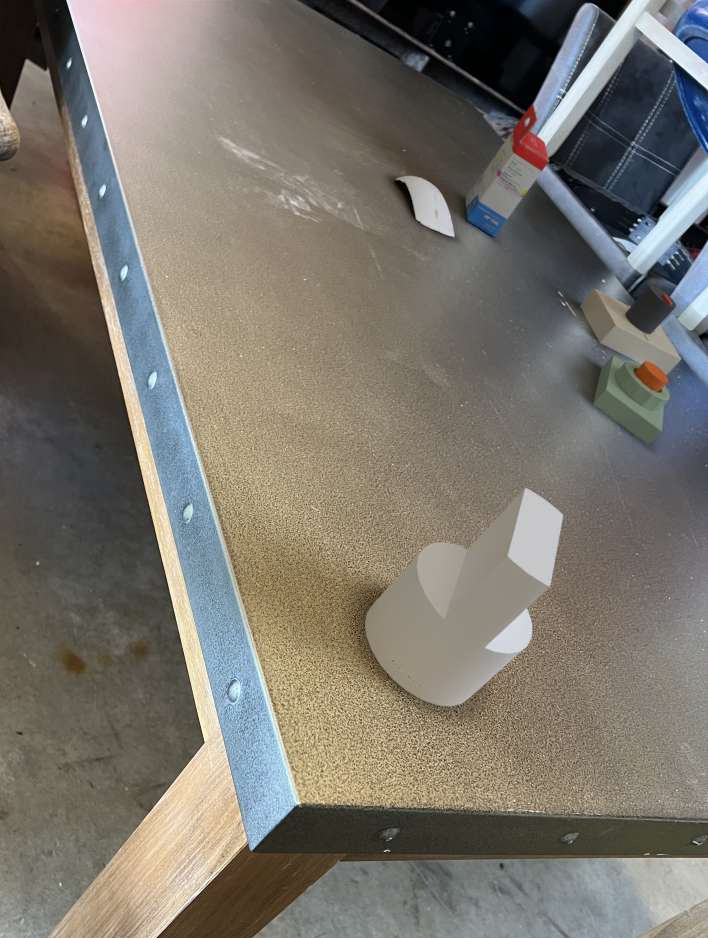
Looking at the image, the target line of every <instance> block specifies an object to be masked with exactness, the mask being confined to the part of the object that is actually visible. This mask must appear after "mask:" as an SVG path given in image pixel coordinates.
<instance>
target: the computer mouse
mask: <svg viewBox="0 0 708 938" xmlns="http://www.w3.org/2000/svg"><path fill="white" fill-rule="evenodd" d="M394 181H401V183H405V185H406V187H407V189H408V191H409V194H410V198H411V200H412V205H413V211H414V215H415V220H416V221H417V222H420V224H421V225H423V226H425V227H427V228H428V229H430V230H434V231H436V232H438V233H441V234H442V235H445V236H449V237H452V238H456V237H455V230H454V226H453V225H454V224H453V221H452V217H451V212H450V209H449V207H448V204H447V202H446V200H445V198H444V196H443V194H442V193H441V191H440V190H439V189H438V187H437V186H435V184H433V183H431V182H430V181H428V180H426V179H425V178H423V177H419V176H414V175H405V176H400V177H397V178H395V180H394Z"/></svg>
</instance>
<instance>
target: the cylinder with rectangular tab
mask: <svg viewBox="0 0 708 938" xmlns="http://www.w3.org/2000/svg"><path fill="white" fill-rule="evenodd" d="M563 519H564V514H563V513H562V512H561V511H560V510H559V509H557V508H556V507H555V506H554V505H553V504H551V503H550V502H549V501H547V499H545V498H543V497H542V496H541V495H539V494H538V493H535V492H534V491H532V490H531V489H529V488H527V487H525V488H524V489H522V491H521V492H520V493H519V494H518V495H517V496H516V497H515V498H514V499H513V500H512V501H511V502H510V503H509V505H507V506H506V507H505V509H504V510H503V511H502V512H501V513H500V514H499V515H498V516H497V517H496V518H495V519H494V521H492V522H491V523H490V525H488V526H487V528H486V529H485V530H484V531H483V532H482V533H481V534H480V535H479V536H478V537H477V539H476V540H474V542H473V543H472V544H471V545H470V546H469V547H468V548H465V547H463V546H462V545H459V544H455V543H450V542H446V541H442V542H432V543H430V544H429V545H426V546H424V547H423V548H422V549H421V550H420V551H419V553H417V554H416V556H415V557H414V558H413V559H412V560H411V561H410V563H408V565H406V567H404V569H403V570H402V572H400V574H399V575H397V577H396V578H395V579H394V580H393V581H392V582H391V584H390V585H389V586H388V587H387V588H386V589H385V590H384V591H383V592H382V593H381V595H380V596H379V597H378V598H377V599H376V600H375V602H374V603H373V604H372V605H371V606H370V608H369V609H368V611H367V612H366V615H365V620H364V629H365V637H366V640H367V642H368V645H369V648H370V650H371V652H372V654H373V656H374V658H375V659H376V660H377V662H378V664H379V665H380V667H381V668H382V669H383V670H384V671H385V673H386V674H387V675H388V676H389V677H390V678H391V680H393V681H394V682H395V683H396V684H397V685H399V686H400V687H401V688H402V689H403V690H405V691H406V692H407V693H409V694H410V695H412V696H414V697H416V698H418V699H419V700H421V701H422V702H423V701H424V702H426V703H429V704H432V705H435V706H440V707H454V706H457V705H458V706H459V705H462V704H463V703H465V702H466V701H468V700H469V699H470V698H471V697H472V696H474V694H475V693H477V692H478V691H479V690H480V689H481V688H482V687H484V686H485V685H486V684H487V683H488V682H489V681H490V680H491V679H492V678H493V677H494V676H496V675H497V674H498V673H499V672H500V671H502V669H503V668H505V667H506V666H507V665H508V664H509V663H510V662H511V661H513V660H514V659H515V658H516V657H517V656H518V655H519V654H520V653H522V652H523V651H524V650H525V649H526V648H527V647H528V646H529V644H530V642H531V640H532V637H533V623H532V619H531V616H530V612H529V610H528V608H529V607H530V606H531V605H532V604H534V602H536V600H538V598H540V597H541V596H542V595H543V594H544V593H545V592H546V591H547V590H548V589H550V587H551V585H552V579H553V573H554V568H555V563H556V558H557V552H558V548H559V541H560V537H561V536H560V535H561V530H562V525H563ZM387 654H388V655H387ZM389 657H390V658H391V659H393V661H394V662H393V661H392V660H391V659H390V658H389ZM396 664H397V666H398V667H399V668H400V669H401V670H402V671H403V672H404V673H403V672H402V671H401V670H400V669H399V668H398V667H397V666H396ZM408 676H409V677H410V678H411V679H410V678H409V677H408ZM413 680H414V681H413ZM417 683H418V684H417ZM420 685H421V686H420ZM438 694H439V695H438Z"/></svg>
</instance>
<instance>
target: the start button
mask: <svg viewBox="0 0 708 938" xmlns="http://www.w3.org/2000/svg"><path fill="white" fill-rule="evenodd" d="M640 365H641V366H640V367H639V368H638V369H637V370H636V371H635V372H634V373H635V374H636V376H637V378H638V379H639V380H640V381H641V382H642V383H643V384H645V385H646V386H647V387H649V388H650V389H651V390H653V391H655V392H657V393H658V392H659V391H660V390H661V389H662V388H663V387H664V385H665V386H666V385H667V383H669V377H668V375H666V374H665V373H664V372H663V371H662V370H661V369H660V368H659V367H657V366H656V365H655V364H653V363H651V362H649V361H644V362H643V363H642V364H640Z"/></svg>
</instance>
